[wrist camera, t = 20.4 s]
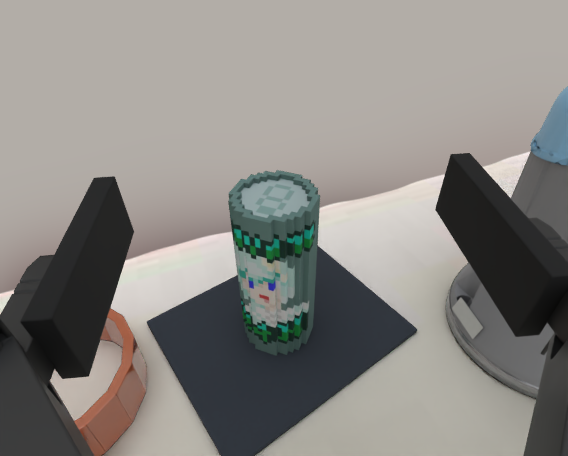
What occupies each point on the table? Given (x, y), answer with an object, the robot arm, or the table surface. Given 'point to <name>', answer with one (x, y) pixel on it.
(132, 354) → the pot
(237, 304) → the mat
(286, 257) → the can
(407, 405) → the table surface
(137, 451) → the table surface
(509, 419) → the table surface
